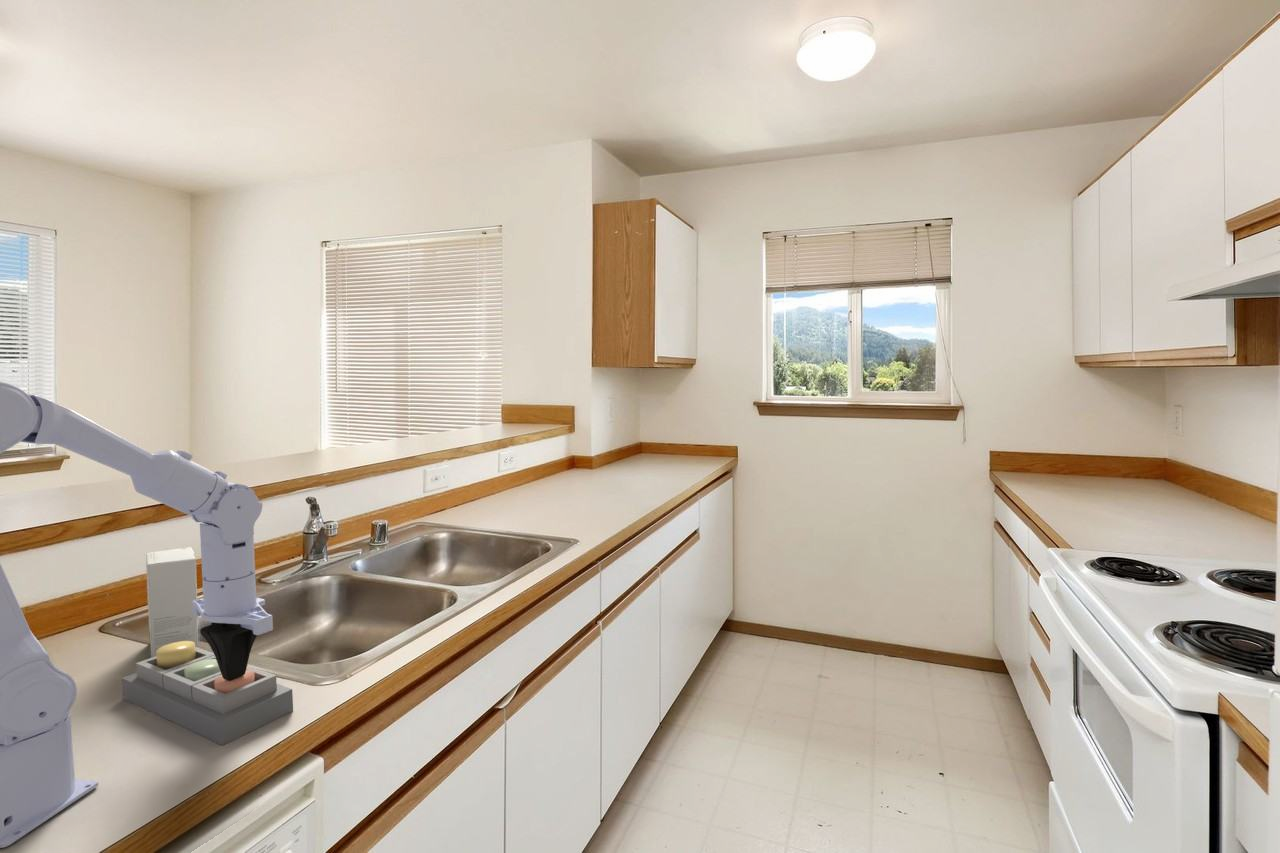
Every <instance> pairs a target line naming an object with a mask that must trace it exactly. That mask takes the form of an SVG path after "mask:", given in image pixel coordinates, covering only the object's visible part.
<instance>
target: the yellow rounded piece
mask: <svg viewBox="0 0 1280 853" xmlns="http://www.w3.org/2000/svg"><path fill="white" fill-rule="evenodd" d="M156 655H157V667H159V668H173V667H175V666H178V665H181V664H184V663H186V662H189V661H192V660H195V658H196V651H195V643H194V642H192V641H181V642H175V643H171V644H168V645H165V646H162V647H161V648H159V649H158V650H157V651H156Z"/></svg>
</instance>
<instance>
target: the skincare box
mask: <svg viewBox="0 0 1280 853" xmlns="http://www.w3.org/2000/svg"><path fill="white" fill-rule="evenodd" d="M195 554H196V552H195V550H194V549H193V548H192V547H191V546H188V547H182V548H181V547H180V548H173V549H167V550H166V549H165V550H158V551H151V552H147V553H146V563H145V564H146V592H147V596H146V597H147V612H148V613H147V615H148V630H149V631H148V632H149V633H148V634H149V648H150V649H149V650H150V658H153V657H155V656H157V655H156V651H157V650H158V649H159V648H161V647H162V646H165V645H168V644H171V643H175V642H181V641H192V642H194V643H195V647H197V648H199V632H198V630H199V627H198V625H199V624H198V623H199V621H198V619H199V618H198V617H199V616H194V615H192V601H194V600H198V586H197V585H198V584H197V560H196V556H195Z"/></svg>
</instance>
